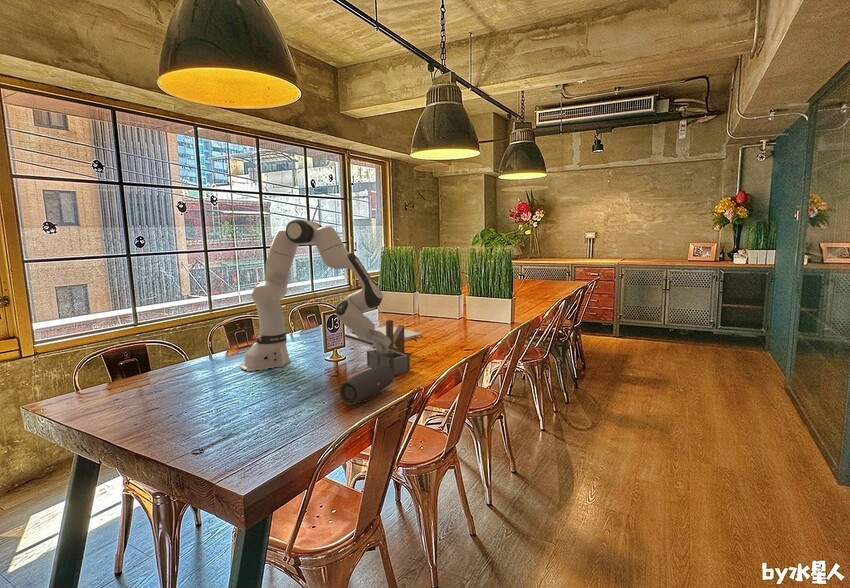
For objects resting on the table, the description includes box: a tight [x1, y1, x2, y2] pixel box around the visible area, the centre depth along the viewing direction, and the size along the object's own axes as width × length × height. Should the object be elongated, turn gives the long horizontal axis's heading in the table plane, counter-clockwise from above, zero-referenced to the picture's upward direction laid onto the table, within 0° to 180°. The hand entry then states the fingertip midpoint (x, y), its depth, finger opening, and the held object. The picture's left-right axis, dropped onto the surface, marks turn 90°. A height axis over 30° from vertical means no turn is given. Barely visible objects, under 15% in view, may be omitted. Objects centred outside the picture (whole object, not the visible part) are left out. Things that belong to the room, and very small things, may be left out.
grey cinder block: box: [366, 348, 411, 376], centre depth 202 cm, size 10×18×7 cm, turn 41°
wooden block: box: [385, 319, 406, 354], centre depth 224 cm, size 4×11×18 cm, turn 142°
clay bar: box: [375, 344, 389, 355], centre depth 205 cm, size 4×4×10 cm
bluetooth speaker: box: [339, 365, 395, 406], centre depth 168 cm, size 23×9×10 cm, turn 151°
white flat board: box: [345, 325, 423, 349], centre depth 261 cm, size 35×2×31 cm
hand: (383, 346), depth 205 cm, fingers closed on clay bar, 4 cm apart
